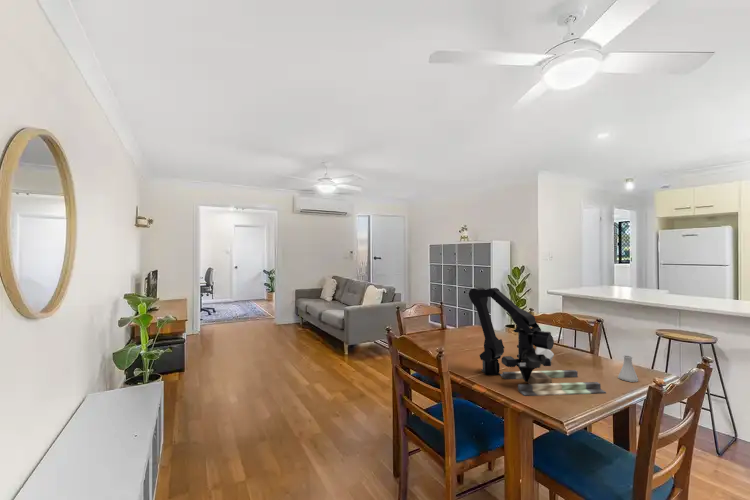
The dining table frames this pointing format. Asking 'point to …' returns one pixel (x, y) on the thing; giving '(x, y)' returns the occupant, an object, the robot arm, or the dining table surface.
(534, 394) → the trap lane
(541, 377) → the walnut block
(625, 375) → the flask
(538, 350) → the die
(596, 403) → the dining table surface
